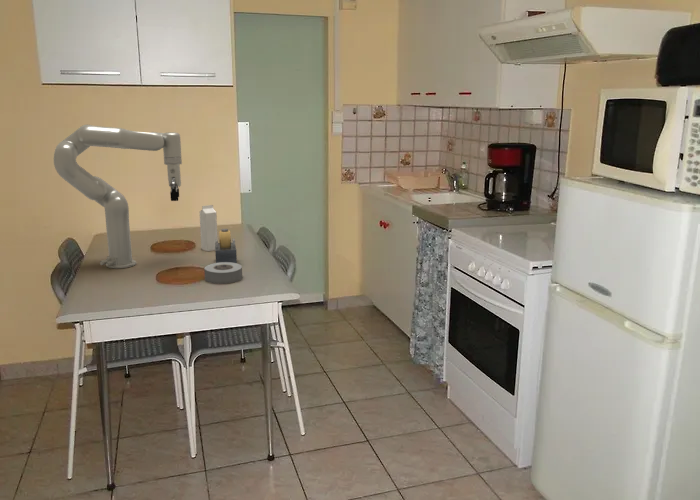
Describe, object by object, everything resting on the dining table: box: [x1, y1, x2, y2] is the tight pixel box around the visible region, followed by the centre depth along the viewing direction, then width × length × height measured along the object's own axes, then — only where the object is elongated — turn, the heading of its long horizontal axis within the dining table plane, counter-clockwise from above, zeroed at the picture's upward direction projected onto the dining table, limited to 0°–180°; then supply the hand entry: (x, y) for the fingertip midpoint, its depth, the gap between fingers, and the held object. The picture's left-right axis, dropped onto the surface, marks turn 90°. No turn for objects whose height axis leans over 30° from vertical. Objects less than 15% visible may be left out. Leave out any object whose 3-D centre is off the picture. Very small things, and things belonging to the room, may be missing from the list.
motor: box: [214, 238, 238, 264], centre depth 271 cm, size 17×9×11 cm, turn 13°
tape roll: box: [204, 262, 243, 285], centre depth 249 cm, size 15×15×5 cm
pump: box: [218, 228, 232, 248], centre depth 268 cm, size 5×5×8 cm
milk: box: [199, 204, 219, 252], centre depth 293 cm, size 6×6×22 cm
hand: (175, 199), depth 270 cm, fingers open, 9 cm apart
